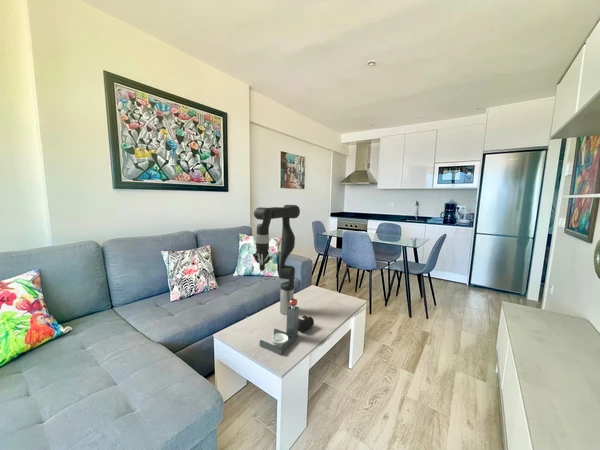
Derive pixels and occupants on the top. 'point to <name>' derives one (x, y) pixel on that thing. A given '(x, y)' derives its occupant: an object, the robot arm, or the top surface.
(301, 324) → the end cap
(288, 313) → the press
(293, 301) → the ram plunger
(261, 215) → the robot arm
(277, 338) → the ramekin
